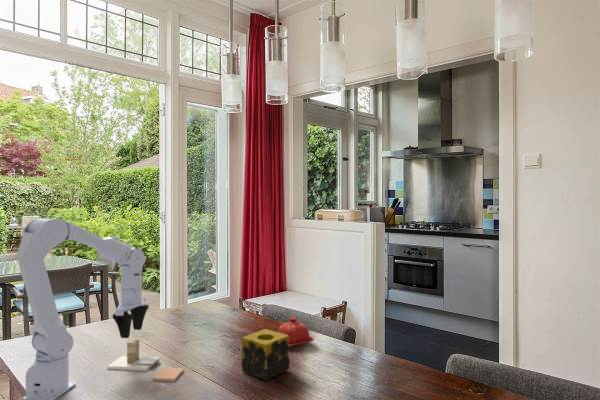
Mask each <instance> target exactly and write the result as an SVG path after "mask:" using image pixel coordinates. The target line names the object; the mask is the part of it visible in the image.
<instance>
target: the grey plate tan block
mask: <svg viewBox="0 0 600 400" xmlns="http://www.w3.org/2000/svg"><path fill="white" fill-rule="evenodd" d="M126 356H127V363H133V365H153V366H154V365H155V364H156V363H158V362H159V361H160V360H161V356H140V340H139V339H130V340H128V341H127V343H126ZM139 357H140V358H139Z"/></svg>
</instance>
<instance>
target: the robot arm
mask: <svg viewBox="0 0 600 400" xmlns="http://www.w3.org/2000/svg"><path fill="white" fill-rule="evenodd" d="M21 234H22V237H21V241H20V244H19V246H18V250H17V253H16V260H17V262H18V264H17V265H18V266H19V270H20V273H21V274H20V275H21V278H22V281H23V284H24V289H25V291H26V295H27V299H28V300H27V301H28V303H29V306H30V311H31V313H32V318H33V321H34V324H33V325H32V327H31V330H32V337H31V342H30V343H31V347H32V348H33V349H34V350H35V351H36V353H35V361H34V363H33V364H32V365H31V366H30V367H29V368H28V369H27V371H26V372H25V373H26V374H25V396H23V397H22V400H56V399H57V398H59V397H61V396H62V395H63V394H64V393H66V392H68V391H69V390H70V389H72V388H74V387H75V386H76V385H77V382H76V381H75V382H74V381H70V380H69V379H70V378H69V376H70V374H69V369H70V368H69V367H70V366H69V364H70V363H69V359H70V358H69V355H70V354H69V353H70V352H71V351H72V349H73V346H74V338H73V336H72V334H70V333H69V332H68V330H67V327H66V325H65V324H64V322H63V321H62V320H61V318H60V316H59V312H58V308H57V304H56V300H55V297H54V294H53V290H52V289H53V288H52V286H51V282H50V279H49V275H48V270H47V266H46V262H45V258H46V257H47V255H49V253H50V251H51V250H53V249H54V248H55V247H57V246H59V245H60V244H62V242H64V241H71V240H73V241H75V242H77V243H80V244H83V245H85V246H88V247H90V248H94V249H96V252H97V254H98V255H99V256H101V257H103V258H106V259H108V260H110V261H113V262H115V263H117V264H118V265H119V266H120V303H119V304H118V306H117V307H116V308H115V309H114V310H115V311H114V312H115V313H112V319H113V320H114V322H115V323H116V324H115V325H117V328H118V331H119V335H120V337H121V339H128V338H130V333H131V326H132V327H133V330H134V331H141V330H142V328H143V323H144V319H145V317H146V314H147V311H148V309H149V306H150V305H149V304H147V302H146V301H147V300H146V296H142V295H143V294H142V293H143V292H142V287H143V286H142V285H143V284H142V282H143V280H142V279H143V278H142V277H143V276H142V275H143V273H142V272H143V267H144V265H145V263H146V260H147V256H146V255H145V253H144V252H143V250H142V249H140V248H135V247H132V244H131V243H129V242H128V243H124V242H122V241H121V240H118V239H119V238H118V237H116V236H106V237H101V236H98V234H94V233H92V232H90V231H89V230H86V229H84V228H83V227H81V226H79V225H77V224H75V223H72V222H69V221H65V220H63V219H60V218H44V217H36V218H34V219H31V220H30V221H29V222H28V224H26V225H25V227H24V228H23V229H22V233H21ZM129 312H130V313H129Z"/></svg>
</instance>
